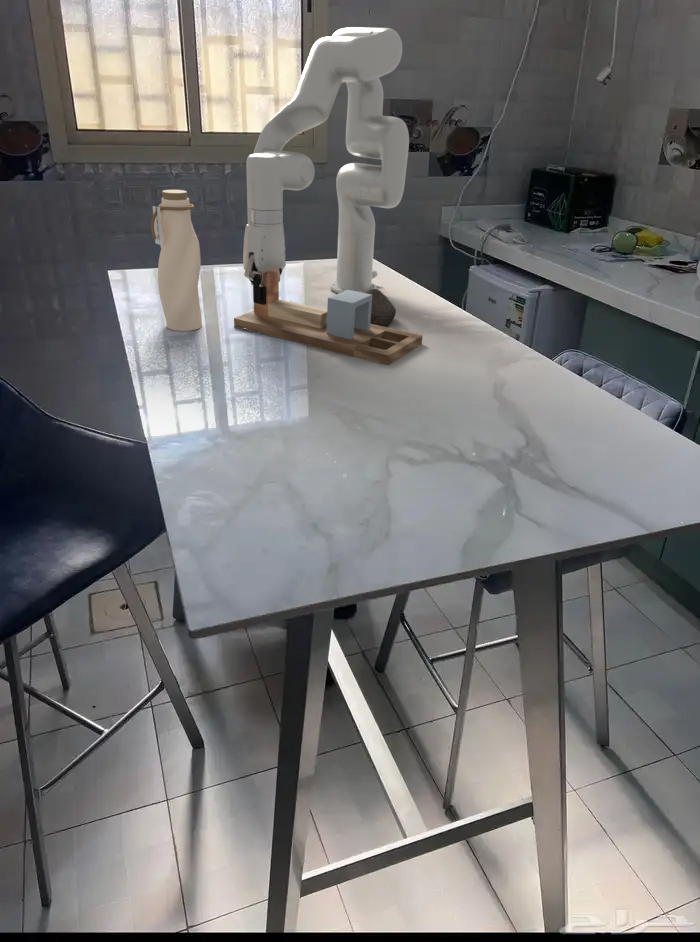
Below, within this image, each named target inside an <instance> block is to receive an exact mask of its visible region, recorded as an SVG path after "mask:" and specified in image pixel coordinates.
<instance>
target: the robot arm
mask: <svg viewBox="0 0 700 942" xmlns="http://www.w3.org/2000/svg"><path fill="white" fill-rule="evenodd" d="M402 55H403V42H402V39H401V36H400V34H399V33H398V32H397V31H396V30H394V28H389V27H365V26H360V27H359V26H350V27H349V26H348V27H343V28H339V29H337V30H336V31H335V32H333V34H332V36H323V37H321V38H319V39H317V40H316V41H315V42H314V44H312V47H311V49H310V52H309V55H308V57H307V60H306V62H305V65H304V67H303V70H302V74H301V76H300V78H299V81H298V83H297V87H296V89H295V92H294V94H293V97H292V99H291V100H290V101H289V102H288V103H287V104H285V105H284V106H283V107H282V108H281V109H280V110H278V111H277V112H276V113H275V115H273V117H272V118H270V119H269V121H268V122H267V123H266V124H265V126H264V127H263V129H262V130H261V131H260V133H259V136H258V139H257V142H256V144H255V146H254V150H253V153H252V154H249V155H248V156H247V159H246V166H245V167H246V168H245V169H246V194H247V195H246V199H247V201H246V204H247V224H245V230H244V234H243V235H244V236H243V249H242V250H243V252H242V255H243V256H242V257H243V259H242V261H243V263H242V264H243V270H244V273H243V275H244V277H245V278H246V279H248V280H249V281H250V285H252V293H253V294H252V300H253V304H254V303H258V304H262V305H265V304H266V287H264V282H265V273H266V272H268V271H271V270H274V269H277V268H278V299H279V300H280V296H279V295H280V293H279V292H280V291H279V289H280V288H279V287H280V285H279V283H280V281H281V275H282V273H283V270H284V269H285V267H286V265H287V263H286V241H285V240H286V238H285V231H284V223H283V222H284V221H283V219H284V218H283V217H284V213H283V207H284V206H283V204H284V202H283V201H284V199H283V198H284V196H283V195H284V193H283V192H284V190H290V191H302V190H304V189H306V188H308V187H310V185H311V184H312V183H313V181H314V178H315V176H316V175H315V170H316V169H315V166H314V163H313V161H312V159H311V158H310V157H309V156H308V155H305V154H304V153H301V152H297V151H294V152H293V151H288V150H283V148H284V147H285V145H286V144H287V143H289V141H290V140H291V139H293V138H294V137H296V136H297V135H299V134H301V133H303V132H306V131H308V130H311V129H313V128H315V127H317V126H319V125H322V124H324V123H325V122H326V121H327V120H328V119H329V117H330V115H331V111H332V108H333V106H334V103H335V101H336V98H337V95H338V93H339V90H340V88H341V86H342V84H344V83H346V88H347V110H346V111H347V112H346V124H345V125H346V126H345V147H346V150H347V151H348V153H349V154H351V155H352V156H355V157H360V158H366V159H374V160H381V165H376V164H372V163H362V162H351V163H346V164H345V165H343V166H342V167H341V168H339V171H338V172H337V175H336V180H335V181H336V182H335V185H336V186H335V187H336V195H337V202H338V231H337V232H338V233H337V234H338V236H337V257H336V259H337V260H336V280H335V281H334V282H331V283H330V286H329V287H330V290H331V291H332V292H333V293H336V294H339V293H341V292H344V291H346V290H352V291H357V292H361V293H364V292H366V291H368V290H370V289H377V290H378V287H377V285H375V284H374V283H373V282H372V280H373V279H375V278H377V277H378V272H377V271H376V270H373V266H374V265H373V264H374V249H375V247H374V246H375V233H376V221H375V215H374V213H373V211H372V208H371V207H375V208H383V209H393V208H396V207H398V205H400V203H401V202H402V201H401V200H402V199H403V195H404V191H405V183H406V175H407V166H408V158H409V146H410V134H409V129H408V126H407V124H406V122H405V121H404V120H403V119H401V118H400V117H397V116H392V115H391V116H390V115H383V109H384V88H383V85H382V81H381V79H380V78H382V77H383V76H386V75H388V74H390V73H392V72H393V71H394V70H395V69H396V68H398V66H399V64H400V62H401V59H402V57H403V56H402ZM257 274H258V275H260V279H259V278H258V276H257Z"/></svg>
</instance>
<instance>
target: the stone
mask: <svg viewBox="0 0 700 942" xmlns="http://www.w3.org/2000/svg"><path fill="white" fill-rule="evenodd" d="M364 293H366V294H371V295H372V306H371V322H370V323H371V324H374V325H378V326H383V327H387V328H388V326H390V325H391V324H392V323H393V321H394V318H395V316H396V313H397V311H396V310H397V309H396V307H395V306H394V304H393V303H392V301H391V300H390V299H389V298H388V296H386V295H385V294H384V293H383V292H382V291H381V290H379V289H378V288H377V289H370V290H368V291H366V292H364Z"/></svg>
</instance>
